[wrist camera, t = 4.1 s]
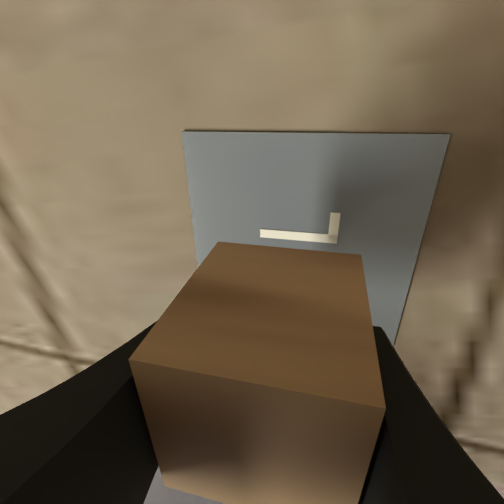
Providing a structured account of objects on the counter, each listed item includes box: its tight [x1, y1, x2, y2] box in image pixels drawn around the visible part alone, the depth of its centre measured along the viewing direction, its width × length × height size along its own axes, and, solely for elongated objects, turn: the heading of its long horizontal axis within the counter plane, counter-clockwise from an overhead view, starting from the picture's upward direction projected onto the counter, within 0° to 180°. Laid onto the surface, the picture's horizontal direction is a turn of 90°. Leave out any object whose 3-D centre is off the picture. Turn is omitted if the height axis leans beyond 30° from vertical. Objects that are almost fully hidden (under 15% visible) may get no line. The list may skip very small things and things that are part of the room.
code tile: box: [182, 131, 450, 346], centre depth 14 cm, size 10×10×1 cm
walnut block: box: [128, 242, 386, 504], centre depth 8 cm, size 4×4×5 cm
